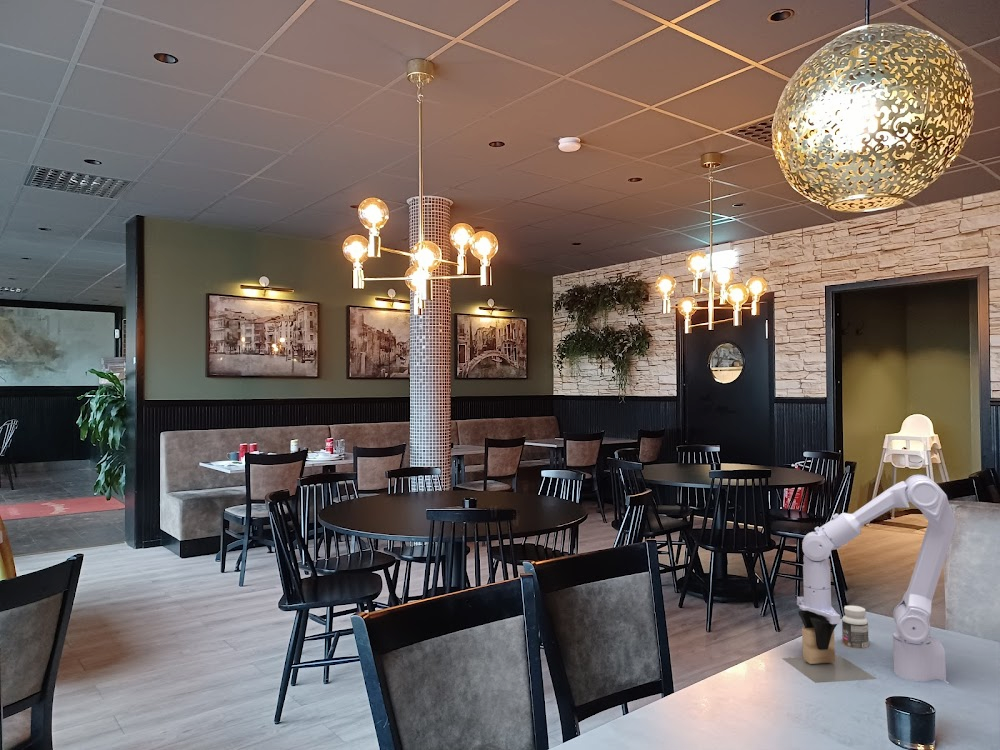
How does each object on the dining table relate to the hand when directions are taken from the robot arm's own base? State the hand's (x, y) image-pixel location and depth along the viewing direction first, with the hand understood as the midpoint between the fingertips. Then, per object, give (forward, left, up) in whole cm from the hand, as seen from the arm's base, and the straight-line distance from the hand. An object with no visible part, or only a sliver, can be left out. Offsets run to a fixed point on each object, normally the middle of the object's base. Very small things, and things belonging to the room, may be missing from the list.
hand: (818, 646), depth 163 cm
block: (0, 0, -3) cm, 3 cm away
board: (0, +4, -5) cm, 6 cm away
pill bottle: (-15, -9, -5) cm, 18 cm away
